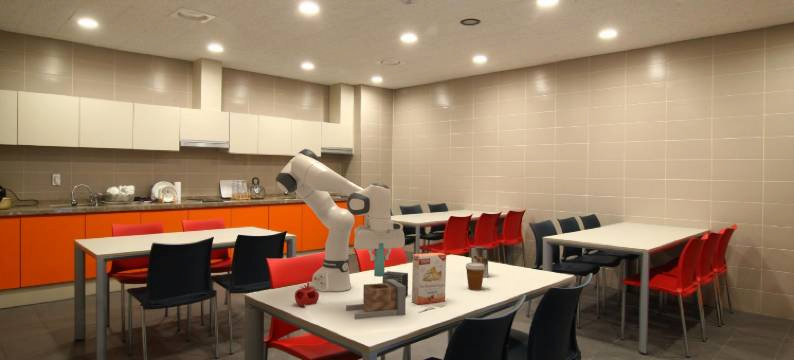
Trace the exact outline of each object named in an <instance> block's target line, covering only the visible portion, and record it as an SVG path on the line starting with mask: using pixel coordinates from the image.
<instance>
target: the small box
mask: <svg viewBox="0 0 794 360" xmlns="http://www.w3.org/2000/svg"><path fill="white" fill-rule="evenodd" d="M388 279H393V280H395V281H397V282H399V283H401V284H402V285H404V286H406V297H408V295H409V273H408V272H401V271H399V272H398V271H391V270H390V271H388V270H387V271H384V276H382V283H386V280H388Z"/></svg>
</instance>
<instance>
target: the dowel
mask: <svg viewBox="0 0 794 360" xmlns="http://www.w3.org/2000/svg"><path fill="white" fill-rule="evenodd" d="M383 246H384V243H379V248H378V249H374V252H373V253H374V254H373V255H374V256H375V260H374V261H373V262H374V271H373V272H374V273H373V275H374V277H380V278H381V277H382V278H383V276H384V272H385V263H386V262H385V261H386V260H385V254H386V252H385V251H386V249H384V247H383Z"/></svg>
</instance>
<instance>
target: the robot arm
mask: <svg viewBox="0 0 794 360" xmlns="http://www.w3.org/2000/svg"><path fill="white" fill-rule="evenodd" d="M275 183H276V184H277V186H278V188H279V189H280V190H281V191H282V192H284V193H287V194H292V193H294V192H295V193H296V195H297V196H298V198H299V199H301V200H302V201H303V202H304V203H305V204H306V205H307V206H308V208H310V209H311V210H312V211H313V213H314V214H315V215H316V217H317V218H318V220H319V221H320V223H322V224H323V225H324V226H325V228H327V229H328V235H327V239H326V241H325V244H324V245H325V247H324V248H325V250H324V251H325V252H324V253H325V254H324V255H325V256H324V257H325V258H324V259H321V263H322V266H321V267H320V268H318V270H316V271H315V272H314V273H313V274H312V278H311V279H312V280H311V282H308V283H309V287H310V286H311V287H312V285H313V287H315V288H313V287H312V288H311V289H314V290H316V291H318V292H323V293H324V292H344V291H348V290H351V289H352V283H351V276H350V269H349V268H350V258H349V243H350V238H351V232H352V228H354V225H355V223H356V222H355V216H358V217H359V216H368V224H367V225H357V226H356V227H355V228H354V231H353V232H354V233H353V234H354V243H353V247H354V248H355V250H358V251H359V250H360V251H363V250H367V252H368V254H369V256H370V261H372V262H374V260H375V256H374V254H373V253H374V252H373V251H374V250H375V249H378V248H379V243H384V246H383V247H384V249H385V251H386V252H385V261H389V256H390V254H391V252H392V249H403V248H404V247H405V243H406V241H405V233H404V231H403V227H404V225H403V224H402V223H400V222H396V221H394V220H392V215H391V209H392V192H391V189H390V187H389V186H388V185H386V184H382V183H378V182H377V183H371V184H370V185H368V186H367V187H366V188H365V187H364V188H363V187H362V186H360V185H359V184H356V183H354V182H353V181H351V180H349V179H347V178H346V177H344V176H342V175H340V174H339V173H337V172H336V171H334V170H333V169H331V168H330V167H328V166H327V165H326V164H324V163H322V162H320V159H319V157H318V155H317V154H316V153H315V152H314V151H312V150H311V149H309V148H304V149H302V150H300V151H299V152H298V153H297V154H296V155H295V156H293V157H292V159H290V160H289V161H288V163H287V164H286V165H285V166H284V167H282V169H281V170H280V172H279V173H278V174H277V176H276V177H275ZM329 192H331V193H338V194H342V195H345V196H346V197H347V199H346V207H347V209H346V208H342V207H340V206H338V205H337V204H336V202H335V201H334V200H333V198H332V197H331V194H330V193H329Z"/></svg>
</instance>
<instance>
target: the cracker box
mask: <svg viewBox="0 0 794 360" xmlns="http://www.w3.org/2000/svg"><path fill="white" fill-rule="evenodd" d="M446 272H447V254H445V253H442V252H429V253H427V252H426V253H414V254H412V273H411V274H412V275H411V276H412V280H411V281H412V282H411V285H412V287H411V302H412V303H414V304H417V305H425V304H426V305H427V304H434V303H441V302H442V301H443V302H446V276H447V275H446V274H447V273H446ZM443 302H442V303H443Z"/></svg>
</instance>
